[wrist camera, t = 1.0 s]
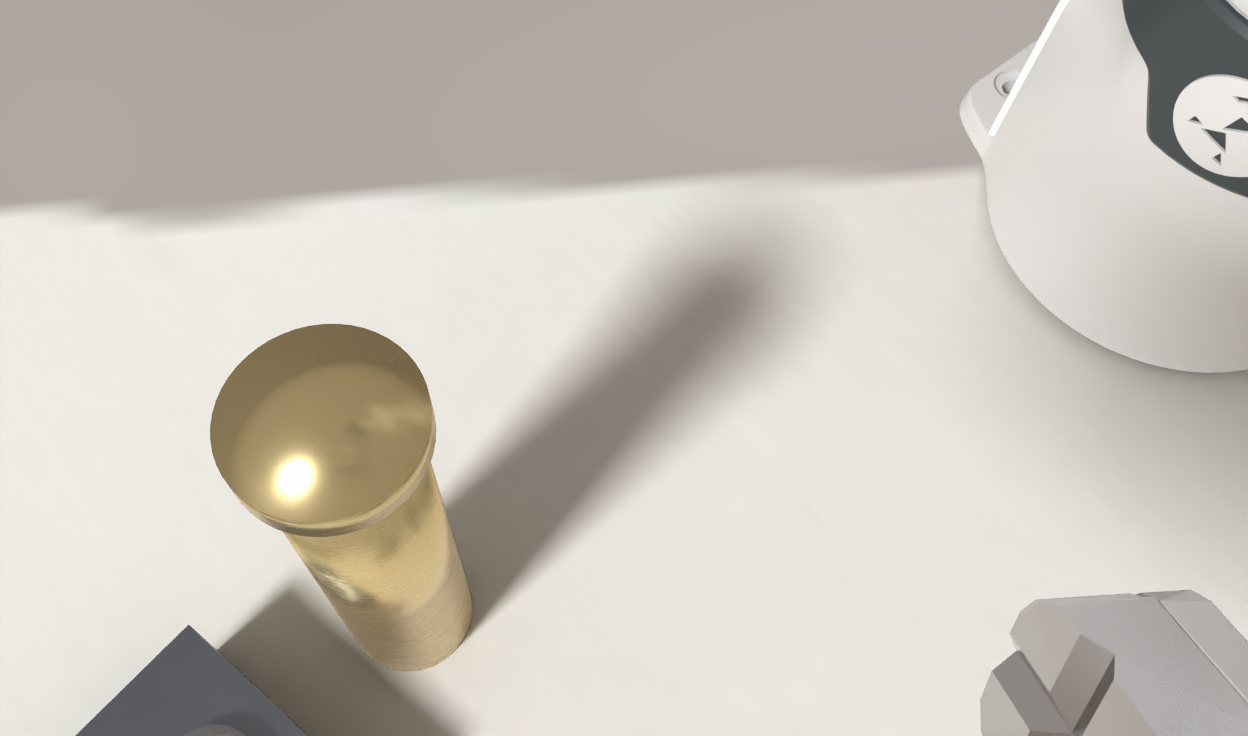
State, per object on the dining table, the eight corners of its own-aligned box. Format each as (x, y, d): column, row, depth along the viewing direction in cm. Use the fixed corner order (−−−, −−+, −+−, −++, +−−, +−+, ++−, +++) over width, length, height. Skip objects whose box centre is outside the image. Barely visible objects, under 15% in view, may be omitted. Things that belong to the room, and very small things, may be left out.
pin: (410, 515, 41) (324, 287, 27) (513, 601, 39) (475, 406, 26) (308, 620, 39) (163, 430, 25) (413, 714, 37) (318, 566, 24)
